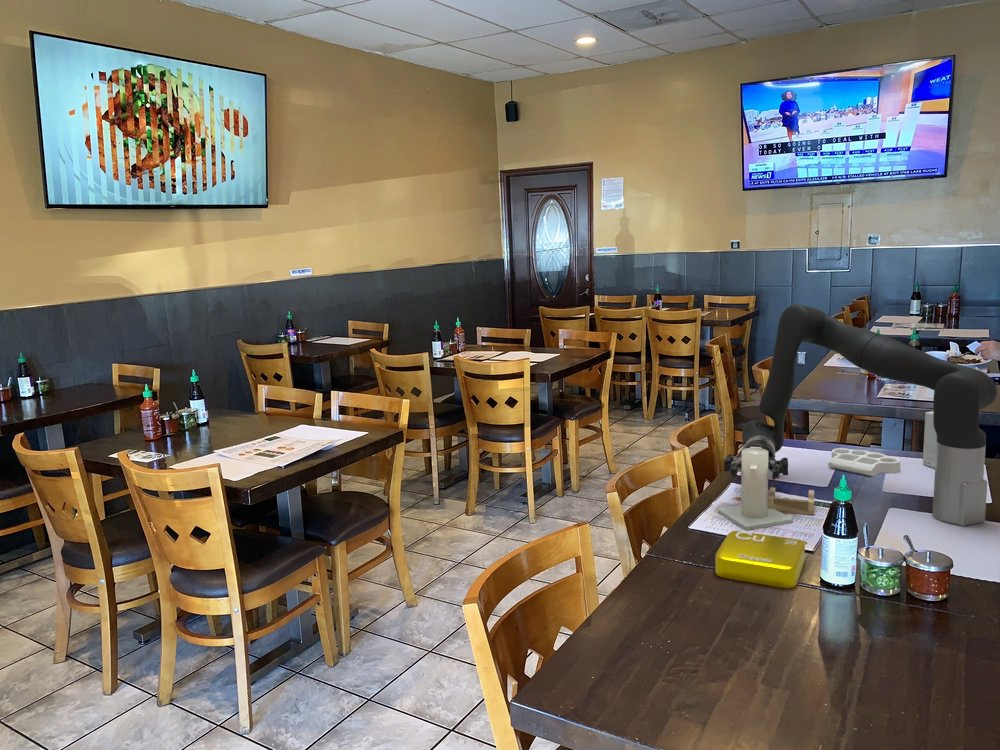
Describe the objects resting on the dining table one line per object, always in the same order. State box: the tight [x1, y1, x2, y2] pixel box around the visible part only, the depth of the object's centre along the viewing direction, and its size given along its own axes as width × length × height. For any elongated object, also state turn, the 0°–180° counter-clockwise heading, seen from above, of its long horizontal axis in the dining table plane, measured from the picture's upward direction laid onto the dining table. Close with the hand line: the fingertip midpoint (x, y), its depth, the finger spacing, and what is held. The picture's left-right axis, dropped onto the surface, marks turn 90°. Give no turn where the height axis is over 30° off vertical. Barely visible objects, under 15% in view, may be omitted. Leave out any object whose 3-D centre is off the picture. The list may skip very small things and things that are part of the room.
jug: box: [740, 447, 769, 518], centre depth 172 cm, size 10×6×15 cm, turn 158°
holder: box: [768, 486, 815, 516], centre depth 179 cm, size 9×10×3 cm
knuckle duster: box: [827, 447, 901, 477], centre depth 205 cm, size 3×18×15 cm
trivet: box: [717, 504, 794, 531], centre depth 174 cm, size 12×12×1 cm
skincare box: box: [922, 410, 937, 469], centre depth 201 cm, size 8×6×15 cm
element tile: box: [714, 530, 806, 589], centre depth 149 cm, size 15×15×5 cm
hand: (754, 474), depth 171 cm, fingers open, 8 cm apart
